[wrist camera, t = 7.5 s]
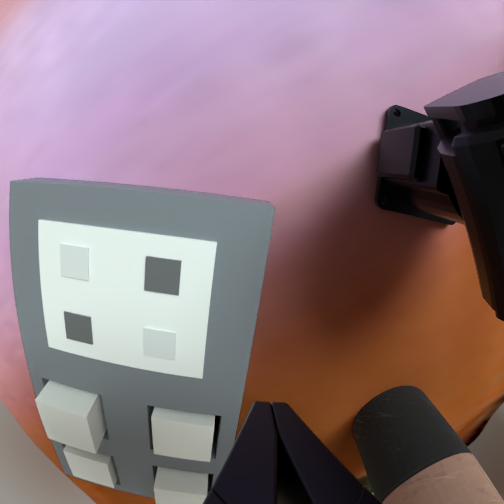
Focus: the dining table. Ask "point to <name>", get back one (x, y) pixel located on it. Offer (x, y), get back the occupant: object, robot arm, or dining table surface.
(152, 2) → the dining table surface
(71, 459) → the button
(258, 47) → the dining table surface
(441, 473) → the travel mug
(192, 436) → the button
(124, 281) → the button board
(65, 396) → the button
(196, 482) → the button
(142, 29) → the dining table surface
